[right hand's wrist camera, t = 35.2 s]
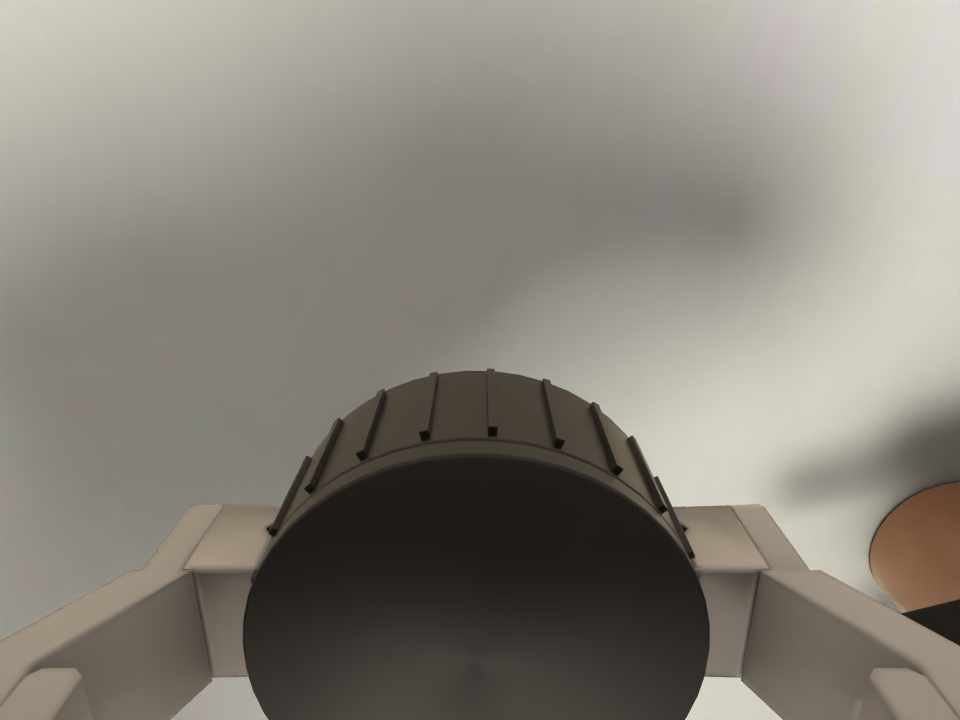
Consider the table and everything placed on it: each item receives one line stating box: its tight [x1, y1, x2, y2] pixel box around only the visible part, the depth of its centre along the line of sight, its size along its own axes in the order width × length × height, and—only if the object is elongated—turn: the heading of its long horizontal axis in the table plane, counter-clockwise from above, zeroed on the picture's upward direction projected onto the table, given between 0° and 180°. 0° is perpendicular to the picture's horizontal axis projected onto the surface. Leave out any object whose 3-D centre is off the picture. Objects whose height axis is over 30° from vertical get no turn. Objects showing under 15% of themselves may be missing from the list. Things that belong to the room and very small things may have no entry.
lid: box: [243, 369, 710, 720], centre depth 9 cm, size 6×6×2 cm
